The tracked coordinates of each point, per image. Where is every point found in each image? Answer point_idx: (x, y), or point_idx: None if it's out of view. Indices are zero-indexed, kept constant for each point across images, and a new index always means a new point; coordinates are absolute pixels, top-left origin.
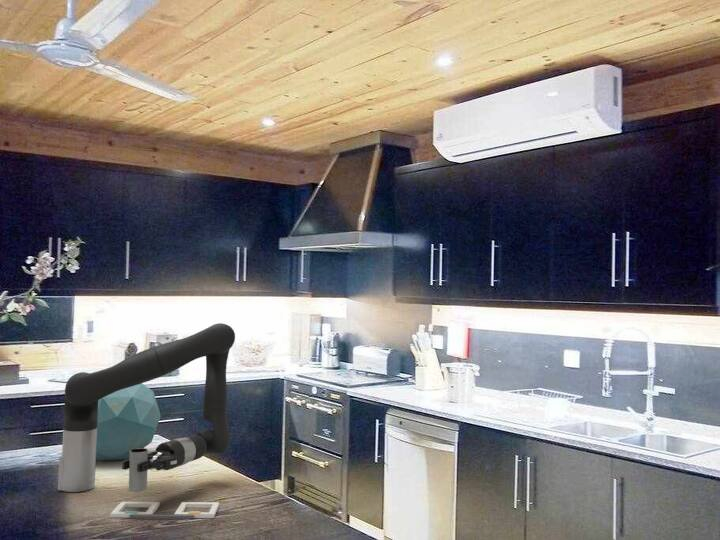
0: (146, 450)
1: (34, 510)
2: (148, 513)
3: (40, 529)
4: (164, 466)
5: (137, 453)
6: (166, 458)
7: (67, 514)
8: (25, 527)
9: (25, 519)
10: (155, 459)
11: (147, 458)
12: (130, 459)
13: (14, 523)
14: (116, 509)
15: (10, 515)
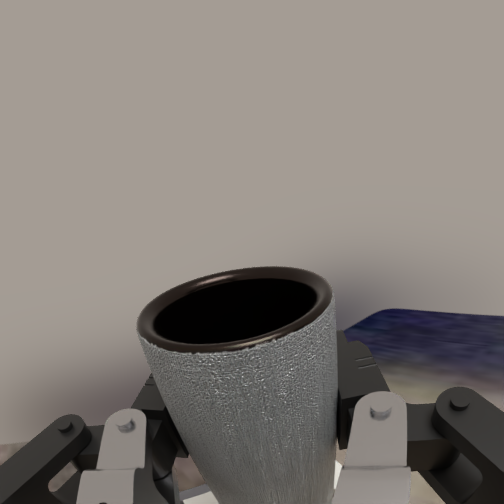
0: (140, 316)
1: (497, 344)
2: (191, 500)
3: (365, 334)
4: (64, 500)
5: (197, 288)
6: (14, 483)
7: (433, 386)
8: (395, 324)
9: (445, 329)
10: (101, 449)
11: (168, 410)
12: (275, 327)
13: (430, 317)
14: (337, 472)
15: (481, 318)
